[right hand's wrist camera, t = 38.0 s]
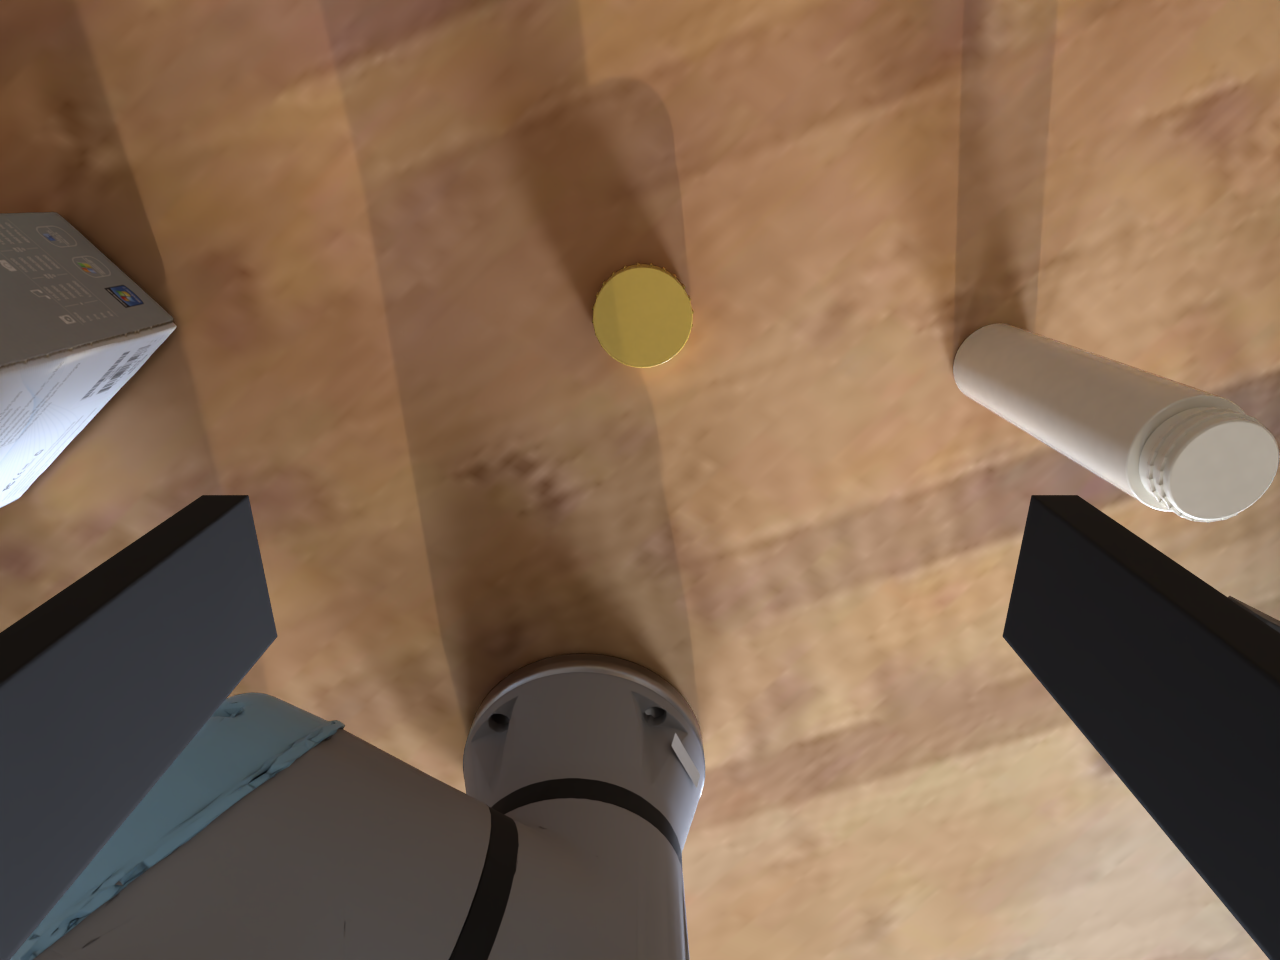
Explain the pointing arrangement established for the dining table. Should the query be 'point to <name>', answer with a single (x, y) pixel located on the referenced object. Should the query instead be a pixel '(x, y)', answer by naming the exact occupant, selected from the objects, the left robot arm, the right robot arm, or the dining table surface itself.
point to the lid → (642, 315)
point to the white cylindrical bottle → (1122, 422)
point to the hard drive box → (62, 340)
